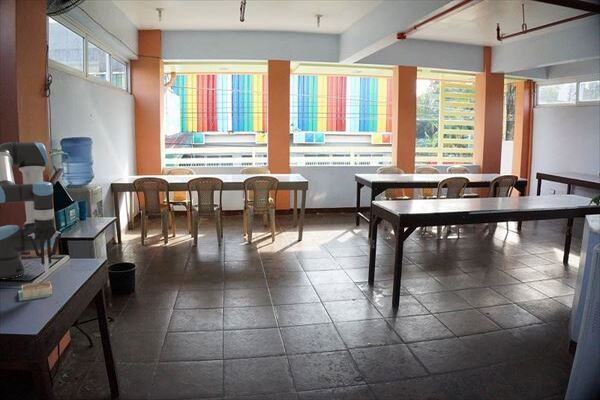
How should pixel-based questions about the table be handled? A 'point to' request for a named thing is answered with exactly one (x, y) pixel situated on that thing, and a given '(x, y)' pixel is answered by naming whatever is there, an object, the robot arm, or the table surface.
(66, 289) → the table surface
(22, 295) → the mat
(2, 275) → the robot arm
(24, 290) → the slab
